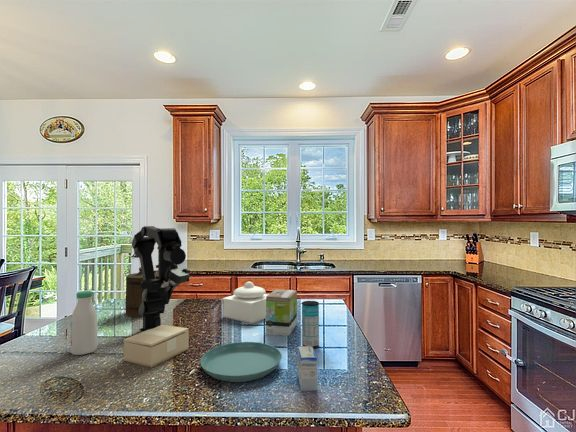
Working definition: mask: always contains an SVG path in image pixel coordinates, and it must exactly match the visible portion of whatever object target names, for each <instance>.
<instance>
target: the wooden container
mask: <svg viewBox="0 0 576 432" xmlns="http://www.w3.org/2000/svg"><path fill="white" fill-rule="evenodd" d="M154 273H155V279H156V276H158V272H154ZM157 280H159V279H157ZM142 281H143V277H142V270H141V266H140V267H139V268H138V272H136V273H129V274H127V275H125V302H124V303H125V305H124V306H125V309H124V310H125V315H126V316H127V317H132V316H140V315H139V307H140V305H141V303H142V297H143V295H144V293H145V289H142V288H141V283H142ZM140 317H141V316H140Z"/></svg>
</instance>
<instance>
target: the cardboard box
mask: <svg viewBox="0 0 576 432" xmlns="http://www.w3.org/2000/svg"><path fill="white" fill-rule="evenodd" d="M189 335H190V333H189V330H188V331H185V332H183V333H181V334H178V335H176V336H174V337H172V338H169V339H167V340H165V341H162V342H160V343H158V344H155V345H153V346H149V345H143V344H137V343H131V342H125V341H124V340H123V361H124V362H128V363H132V364H136V365H139V366H144V367H147V368H155V367H156V366H158V365H160V364H162V363H163V362H164V363H165V362H166V361H167V360H170V359H171V358H174V357H176V356H177V355H180V354H182V353H184V352H185V351H188V350H189V349H190V348H189V347H190V346H189V345H190V344H189V343H190V342H189V338H190V336H189Z"/></svg>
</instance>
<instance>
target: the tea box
mask: <svg viewBox="0 0 576 432" xmlns="http://www.w3.org/2000/svg"><path fill="white" fill-rule="evenodd" d="M297 309H298V290H295V289H278V288H277V289H274V290H272V292H270V293H269V294H268V296H266V318H265V330H264V331H265V334H266V335H273V336H291V334H292V333H293V331H294V329H295V327H296V326H297V320H298V319H297V317H298V312H297V311H298V310H297Z"/></svg>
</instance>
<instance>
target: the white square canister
mask: <svg viewBox="0 0 576 432" xmlns="http://www.w3.org/2000/svg"><path fill="white" fill-rule="evenodd" d="M268 295H269V294H267V292H266V290H265V288H263V287H261V286H256V285H255V284H254V283H253V282H252V281H250V280H249V281H246V282H244V285H243V286H240V287H238V288H235V289H234V290H233V295H230V296H226V297H222V298H221V300H222V301H223V306H222V307H223V314H222V315H223V317H222V318H226V319H230V320H236V321H241V322H245V323H249V324H255V323H258V322H260V321H262V320H264V319H265V320H266V296H268Z"/></svg>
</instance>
